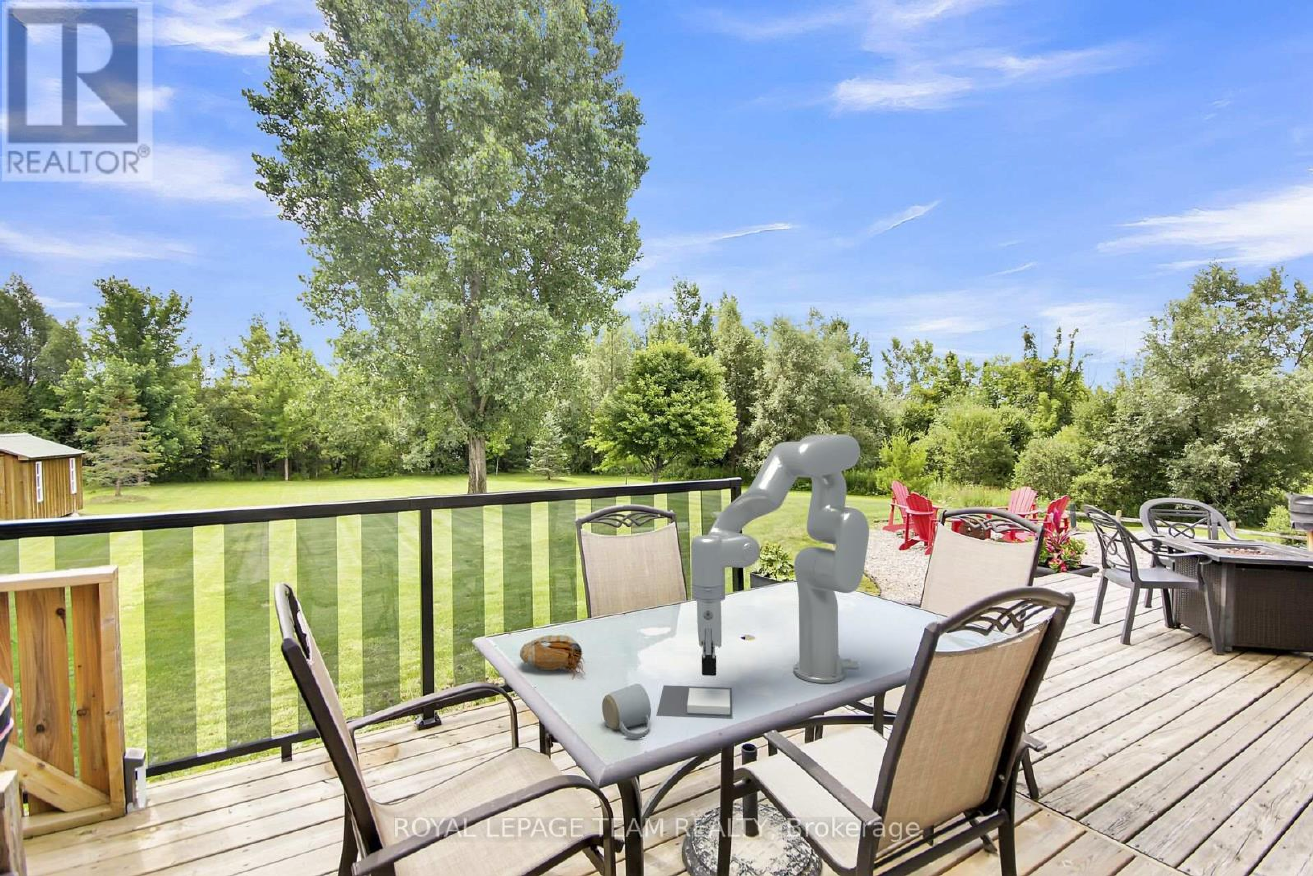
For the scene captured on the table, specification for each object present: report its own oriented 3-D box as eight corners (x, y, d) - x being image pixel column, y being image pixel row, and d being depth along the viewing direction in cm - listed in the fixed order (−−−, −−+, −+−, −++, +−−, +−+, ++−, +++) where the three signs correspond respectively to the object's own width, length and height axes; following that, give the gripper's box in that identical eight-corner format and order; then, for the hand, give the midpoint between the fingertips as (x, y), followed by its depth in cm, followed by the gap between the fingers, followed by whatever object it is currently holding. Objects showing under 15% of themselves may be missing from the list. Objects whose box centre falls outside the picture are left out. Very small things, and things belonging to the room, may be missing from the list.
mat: (731, 690, 140) (731, 687, 140) (732, 721, 124) (732, 718, 124) (663, 687, 141) (663, 685, 141) (656, 718, 125) (656, 715, 125)
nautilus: (605, 677, 150) (552, 696, 140) (562, 649, 166) (512, 665, 157) (604, 646, 149) (551, 663, 140) (561, 622, 166) (511, 635, 157)
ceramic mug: (599, 723, 123) (599, 686, 123) (633, 714, 128) (633, 678, 128) (624, 746, 114) (624, 706, 114) (660, 734, 119) (660, 696, 119)
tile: (729, 689, 134) (730, 706, 125) (729, 698, 134) (730, 716, 125) (689, 688, 135) (687, 705, 126) (689, 696, 135) (687, 714, 126)
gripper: (725, 600, 125) (726, 688, 125) (724, 584, 140) (725, 662, 139) (689, 600, 126) (690, 687, 125) (693, 583, 141) (693, 661, 140)
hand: (709, 674), depth 132 cm, fingers closed
